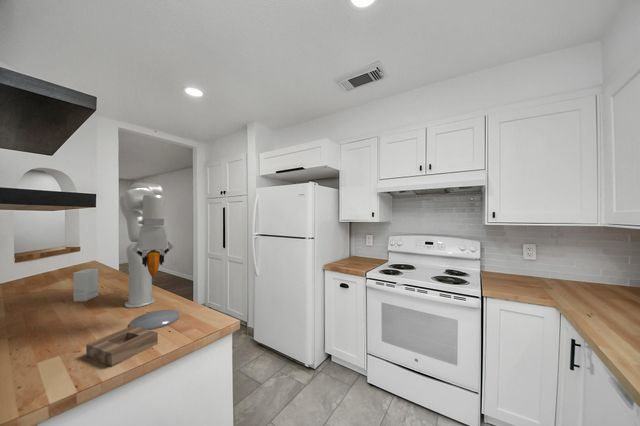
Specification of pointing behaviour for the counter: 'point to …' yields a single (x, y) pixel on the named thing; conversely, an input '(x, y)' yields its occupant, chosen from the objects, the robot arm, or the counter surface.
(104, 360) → the pocket block
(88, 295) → the skincare box
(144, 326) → the plate
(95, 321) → the counter surface
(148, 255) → the carrot
